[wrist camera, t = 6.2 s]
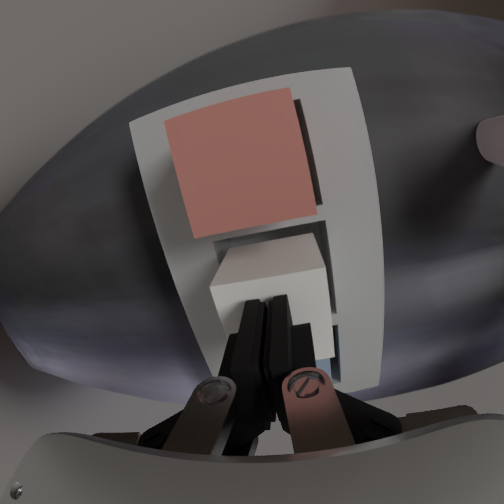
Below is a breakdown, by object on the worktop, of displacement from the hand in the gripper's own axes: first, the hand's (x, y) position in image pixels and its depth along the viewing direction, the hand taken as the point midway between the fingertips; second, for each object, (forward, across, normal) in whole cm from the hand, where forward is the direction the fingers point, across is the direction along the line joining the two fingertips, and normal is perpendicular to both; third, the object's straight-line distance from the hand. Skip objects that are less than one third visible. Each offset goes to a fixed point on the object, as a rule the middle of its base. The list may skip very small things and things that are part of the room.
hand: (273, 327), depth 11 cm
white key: (+5, 0, 0) cm, 5 cm away
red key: (+5, 0, -6) cm, 8 cm away
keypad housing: (+10, 0, 0) cm, 10 cm away
